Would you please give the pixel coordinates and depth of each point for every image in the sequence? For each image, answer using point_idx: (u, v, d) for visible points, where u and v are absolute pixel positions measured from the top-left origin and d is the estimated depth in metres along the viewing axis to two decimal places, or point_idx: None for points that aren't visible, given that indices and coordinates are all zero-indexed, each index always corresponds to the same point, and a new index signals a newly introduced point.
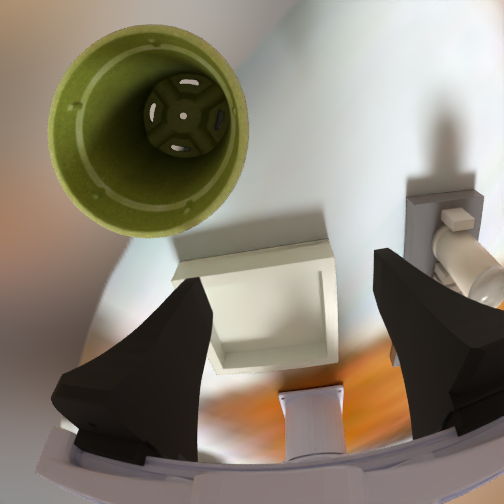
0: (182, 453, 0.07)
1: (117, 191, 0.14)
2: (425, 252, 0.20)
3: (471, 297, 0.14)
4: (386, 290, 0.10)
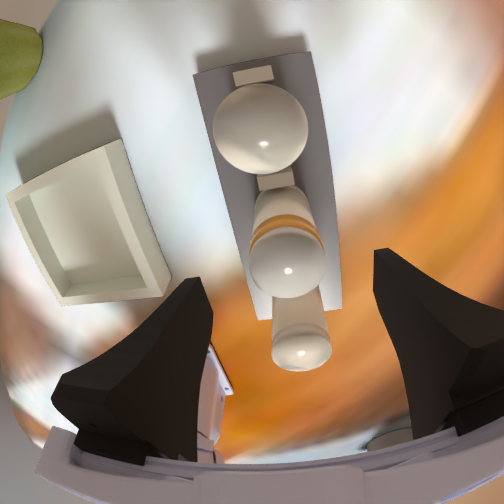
0: (182, 453, 0.07)
1: None
2: None
3: (217, 140, 0.11)
4: (386, 290, 0.10)
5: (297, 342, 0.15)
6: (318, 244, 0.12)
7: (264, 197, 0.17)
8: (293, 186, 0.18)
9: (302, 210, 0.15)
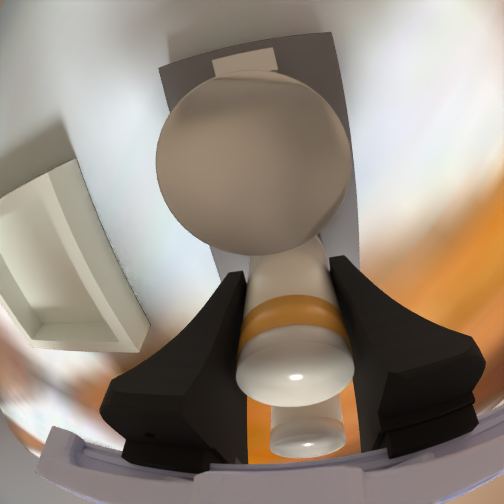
0: (238, 456, 0.07)
1: None
2: None
3: (169, 188, 0.06)
4: (338, 299, 0.10)
5: (303, 439, 0.10)
6: (345, 351, 0.07)
7: None
8: None
9: (319, 279, 0.10)
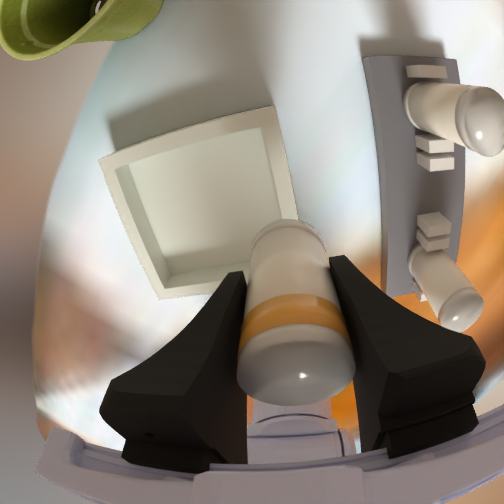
0: (238, 456, 0.07)
1: (43, 42, 0.09)
2: (397, 117, 0.16)
3: (460, 123, 0.10)
4: None
5: (466, 303, 0.14)
6: (346, 350, 0.07)
7: (262, 247, 0.12)
8: (304, 227, 0.12)
9: (320, 277, 0.10)
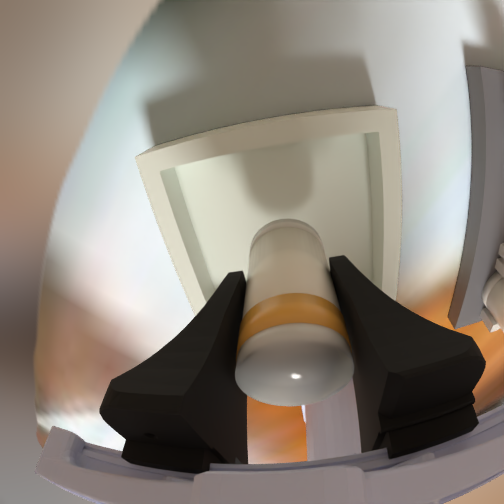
0: (238, 456, 0.07)
1: None
2: (500, 139, 0.11)
3: None
4: (338, 299, 0.10)
5: None
6: (344, 349, 0.07)
7: (261, 247, 0.12)
8: (303, 226, 0.12)
9: (318, 276, 0.10)
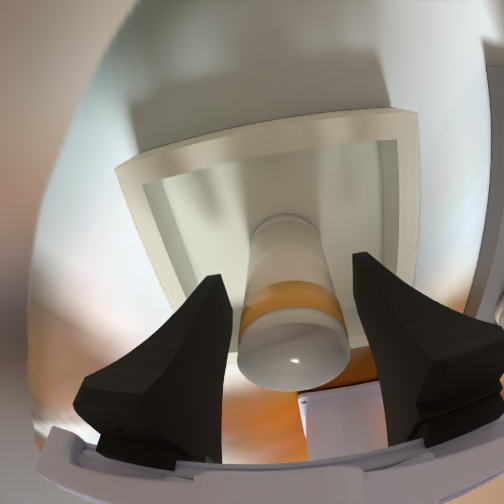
0: (209, 455, 0.07)
1: None
2: None
3: None
4: (363, 294, 0.10)
5: None
6: (341, 333, 0.08)
7: (261, 240, 0.12)
8: (301, 220, 0.13)
9: (316, 266, 0.10)
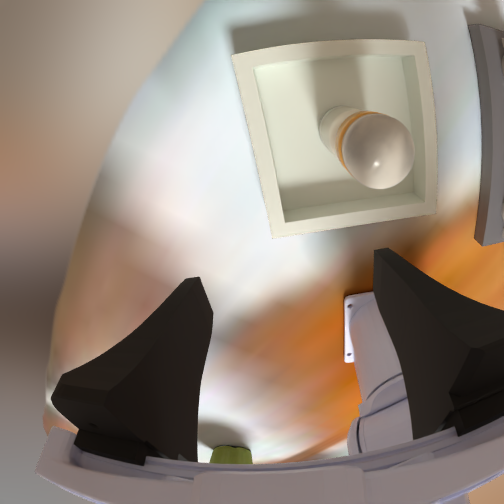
0: (182, 453, 0.07)
1: None
2: (499, 77, 0.12)
3: None
4: (386, 290, 0.10)
5: None
6: (407, 130, 0.11)
7: (333, 112, 0.15)
8: None
9: None
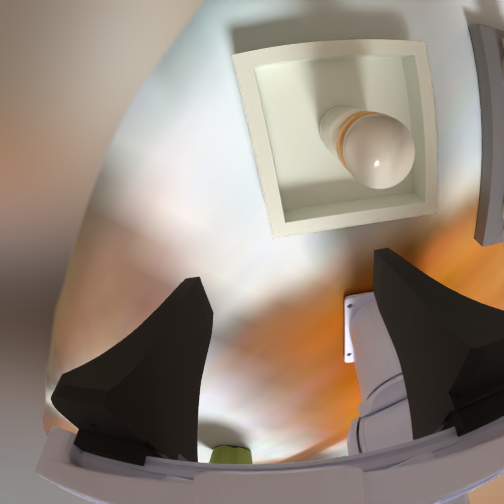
0: (182, 453, 0.07)
1: None
2: (499, 77, 0.12)
3: None
4: (386, 290, 0.10)
5: None
6: (407, 130, 0.11)
7: (334, 112, 0.15)
8: None
9: None
